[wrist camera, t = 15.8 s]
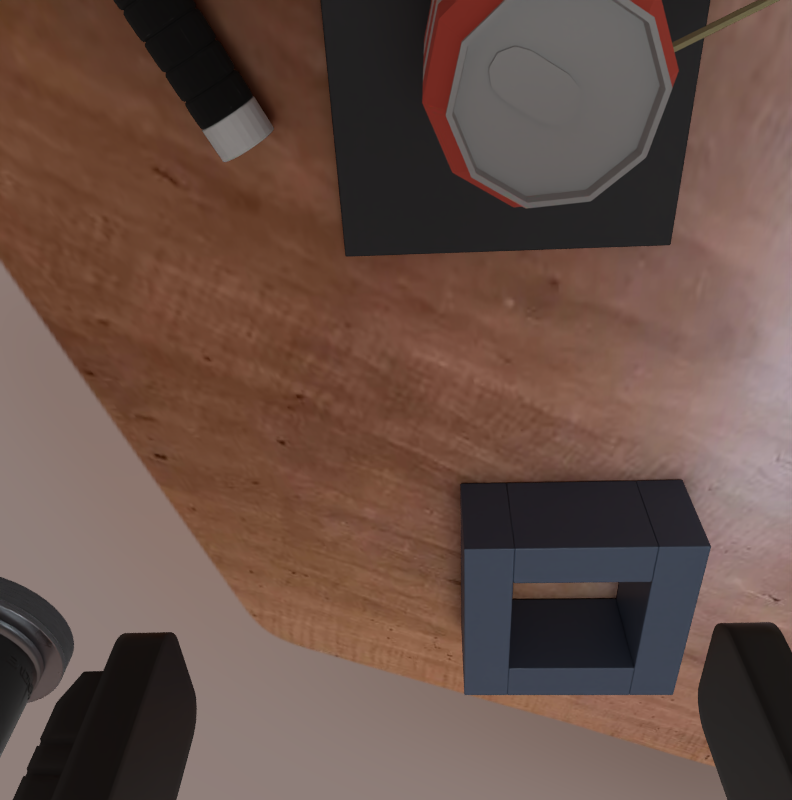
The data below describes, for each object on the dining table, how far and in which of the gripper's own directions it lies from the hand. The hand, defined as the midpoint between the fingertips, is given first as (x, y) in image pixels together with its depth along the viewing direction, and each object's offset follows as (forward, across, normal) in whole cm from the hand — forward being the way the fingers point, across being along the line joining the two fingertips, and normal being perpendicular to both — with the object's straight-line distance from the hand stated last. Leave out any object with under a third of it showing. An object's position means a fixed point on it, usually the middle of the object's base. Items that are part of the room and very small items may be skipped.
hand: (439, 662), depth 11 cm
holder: (+25, -7, +23) cm, 35 cm away
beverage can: (+24, -3, -6) cm, 24 cm away
